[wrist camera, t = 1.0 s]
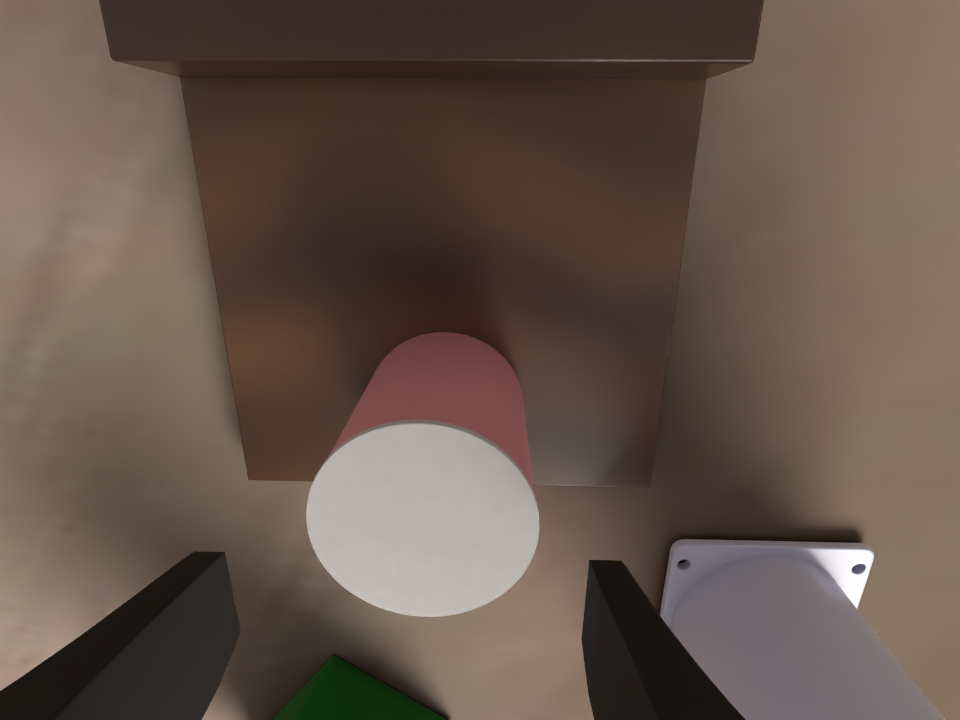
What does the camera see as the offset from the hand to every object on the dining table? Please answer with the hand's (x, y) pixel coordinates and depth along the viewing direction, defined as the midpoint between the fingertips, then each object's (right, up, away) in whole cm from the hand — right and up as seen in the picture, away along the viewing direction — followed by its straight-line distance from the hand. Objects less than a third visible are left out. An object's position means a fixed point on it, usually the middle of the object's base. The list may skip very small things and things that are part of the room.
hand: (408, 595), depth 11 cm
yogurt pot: (0, +3, +8) cm, 9 cm away
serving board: (0, +7, +8) cm, 11 cm away
